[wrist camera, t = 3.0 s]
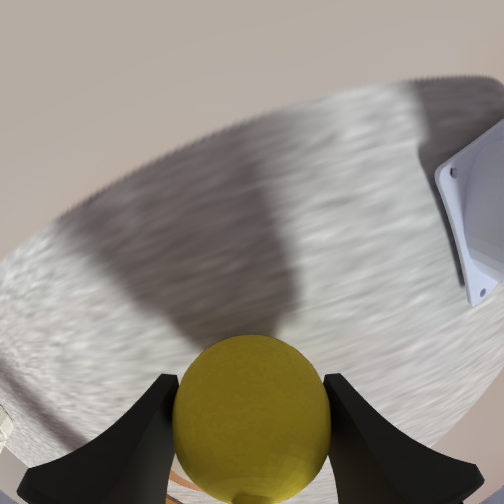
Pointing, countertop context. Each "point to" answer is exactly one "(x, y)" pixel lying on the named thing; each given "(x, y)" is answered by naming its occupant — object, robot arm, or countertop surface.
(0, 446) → the white cup
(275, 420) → the lemon
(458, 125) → the countertop surface
